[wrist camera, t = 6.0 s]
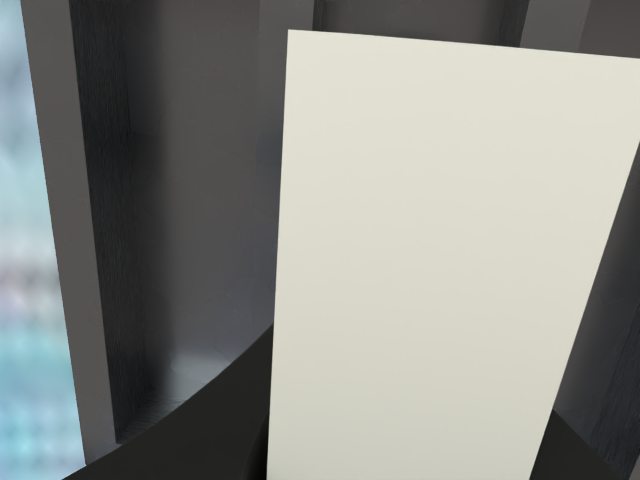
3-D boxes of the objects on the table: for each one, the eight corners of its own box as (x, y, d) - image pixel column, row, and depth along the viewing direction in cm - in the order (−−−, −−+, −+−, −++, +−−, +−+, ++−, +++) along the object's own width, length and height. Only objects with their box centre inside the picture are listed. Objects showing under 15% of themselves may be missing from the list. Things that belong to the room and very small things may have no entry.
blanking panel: (396, 491, 14) (403, 862, 8) (311, 476, 15) (250, 825, 8) (480, 44, 10) (665, 60, 3) (353, 33, 10) (288, 29, 3)
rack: (625, 489, 19) (679, 591, 16) (103, 407, 21) (46, 482, 17) (879, -98, 12) (1088, -155, 8) (40, -144, 14) (-81, -207, 10)
